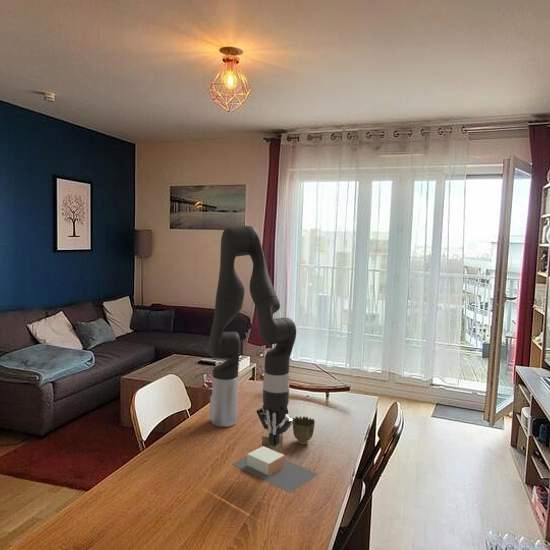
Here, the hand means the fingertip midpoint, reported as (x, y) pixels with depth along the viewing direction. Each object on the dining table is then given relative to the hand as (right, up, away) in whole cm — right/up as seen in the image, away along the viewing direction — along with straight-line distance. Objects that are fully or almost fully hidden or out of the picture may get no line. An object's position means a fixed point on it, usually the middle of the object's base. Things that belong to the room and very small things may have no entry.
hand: (274, 445), depth 132 cm
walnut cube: (-1, -7, +14) cm, 16 cm away
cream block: (+1, -6, 0) cm, 6 cm away
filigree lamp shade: (+10, -7, +19) cm, 22 cm away
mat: (0, -8, +1) cm, 8 cm away
